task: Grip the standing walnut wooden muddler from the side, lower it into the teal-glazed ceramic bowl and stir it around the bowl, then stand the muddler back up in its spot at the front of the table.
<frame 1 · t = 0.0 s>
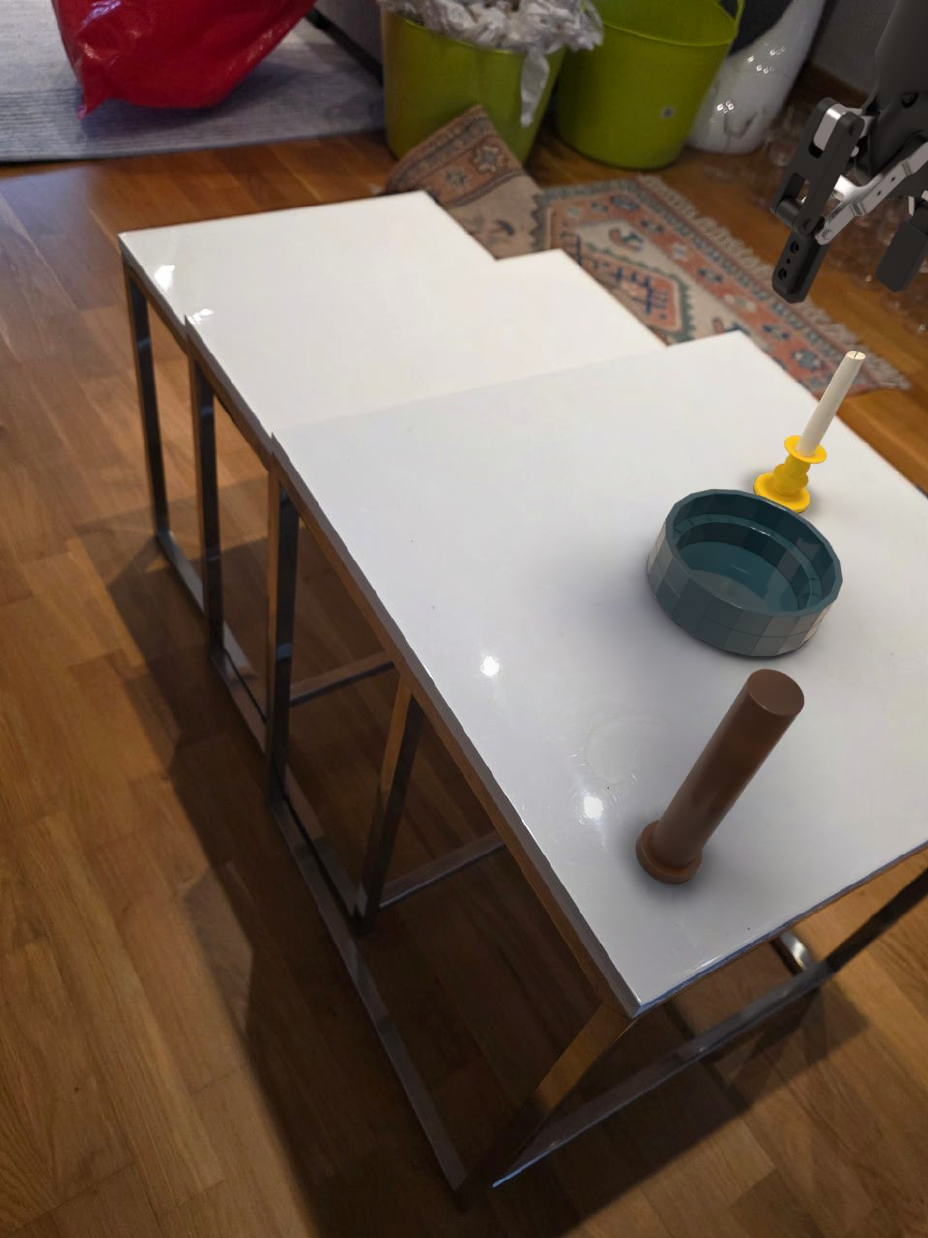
hand: (838, 290, 57), 27 cm above the table, tool pointing down, fingers open, 8 cm apart
bowl: (729, 592, 78), on the table
muddler: (666, 855, 61), on the table
candle: (779, 496, 89), on the table
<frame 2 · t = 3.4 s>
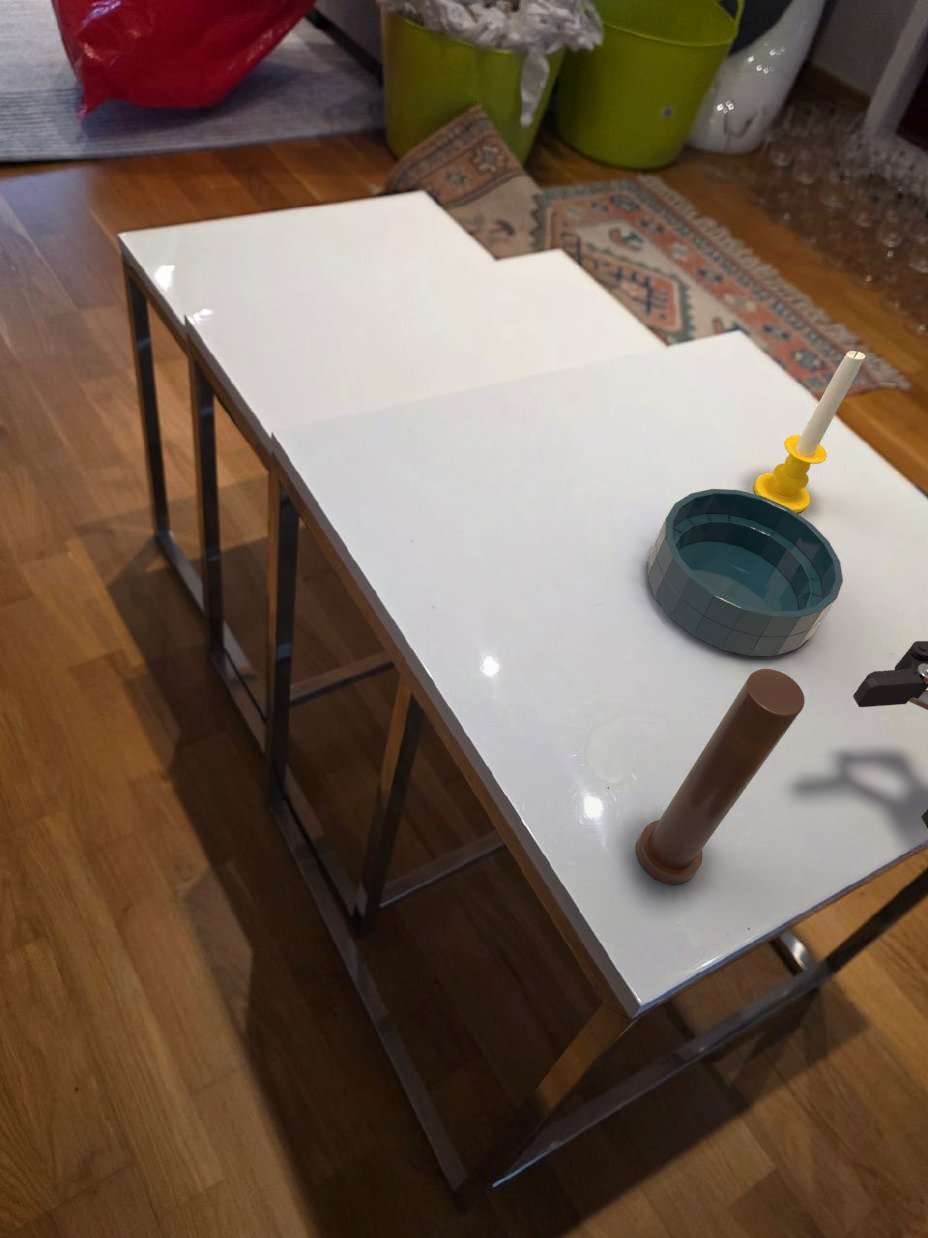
hand: (894, 751, 56), 10 cm above the table, tool horizontal, fingers open, 8 cm apart
nothing on the table moved.
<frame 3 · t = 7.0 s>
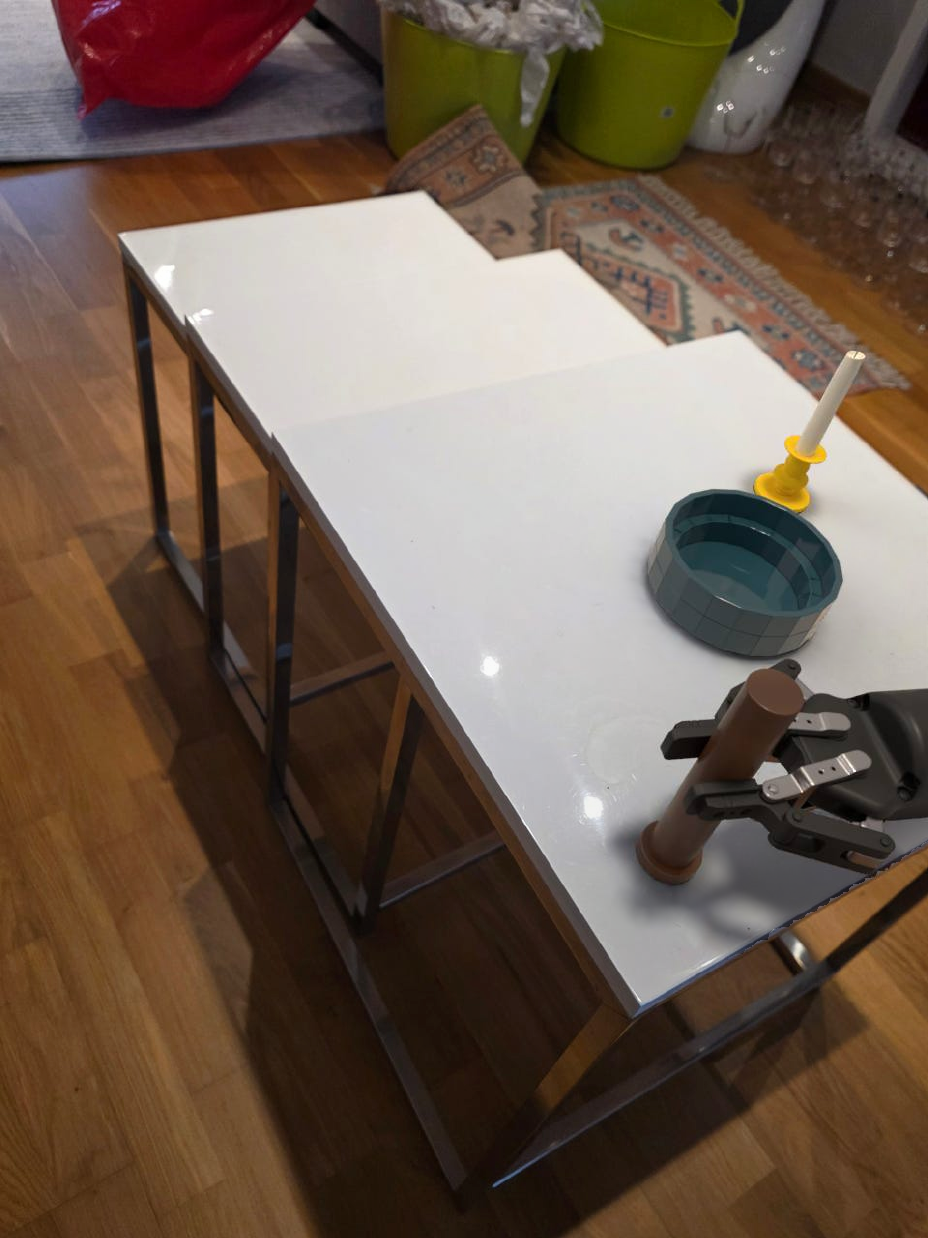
hand: (678, 772, 53), 10 cm above the table, tool horizontal, fingers closed on muddler, 3 cm apart
muddler: (666, 855, 61), on the table, touching gripper
everything else where it was.
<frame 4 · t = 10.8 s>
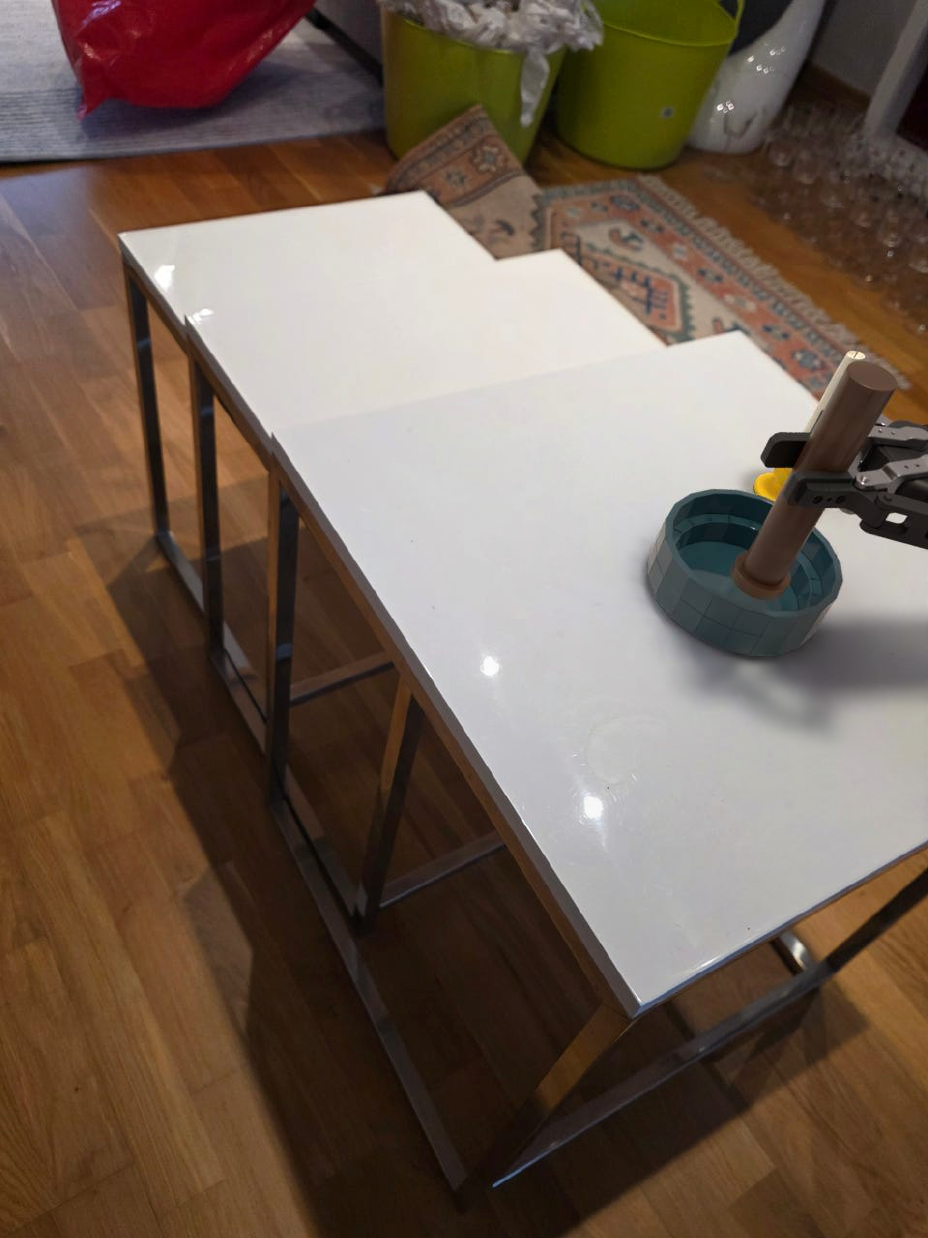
hand: (779, 469, 59), 18 cm above the table, tool horizontal, fingers closed on muddler, 3 cm apart
muddler: (757, 579, 68), point 8 cm above the table, touching gripper
everything else where it was.
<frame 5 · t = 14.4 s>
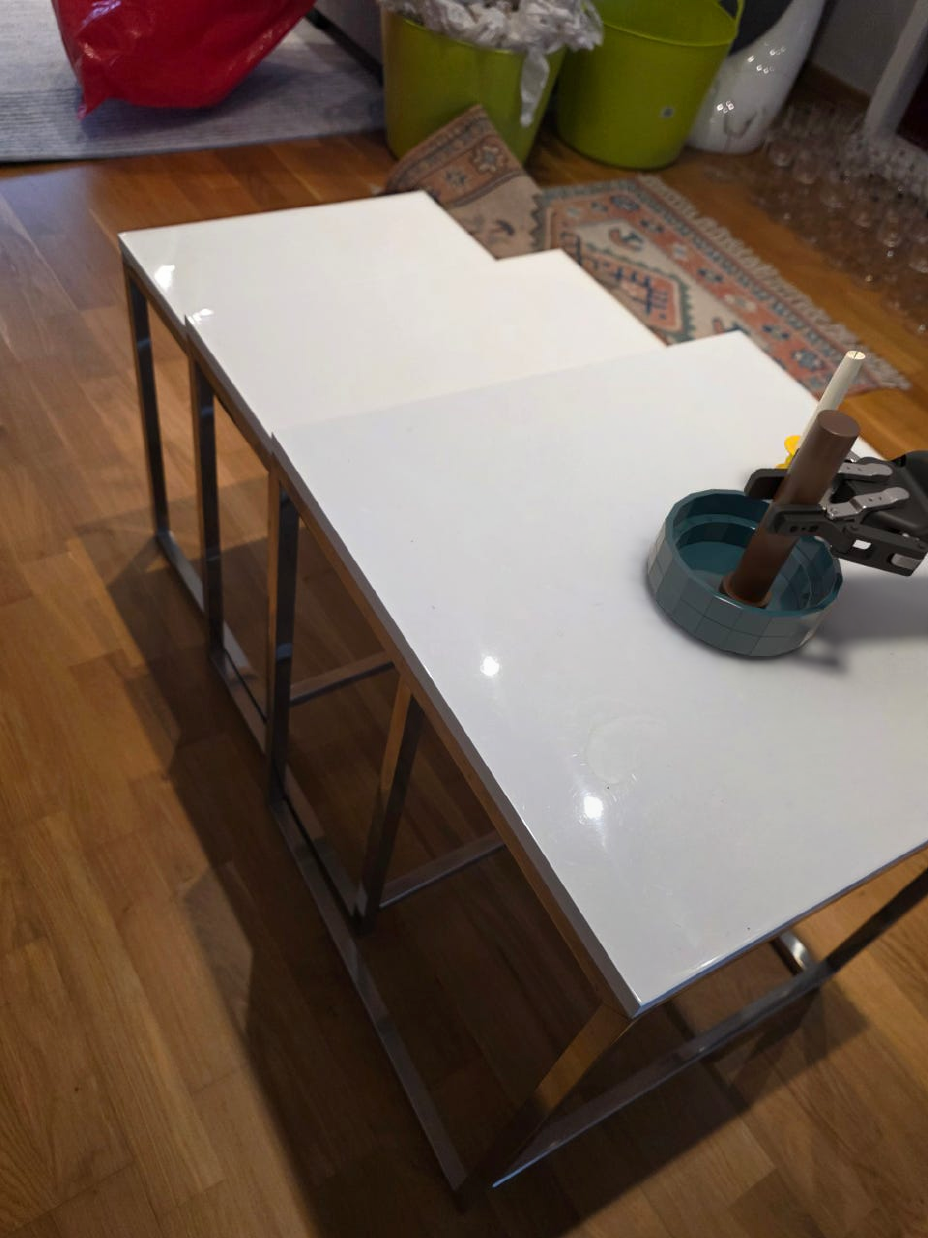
hand: (760, 502, 68), 11 cm above the table, tool horizontal, fingers closed on muddler, 3 cm apart
muddler: (742, 596, 76), point 1 cm above the table, touching gripper
everything else where it was.
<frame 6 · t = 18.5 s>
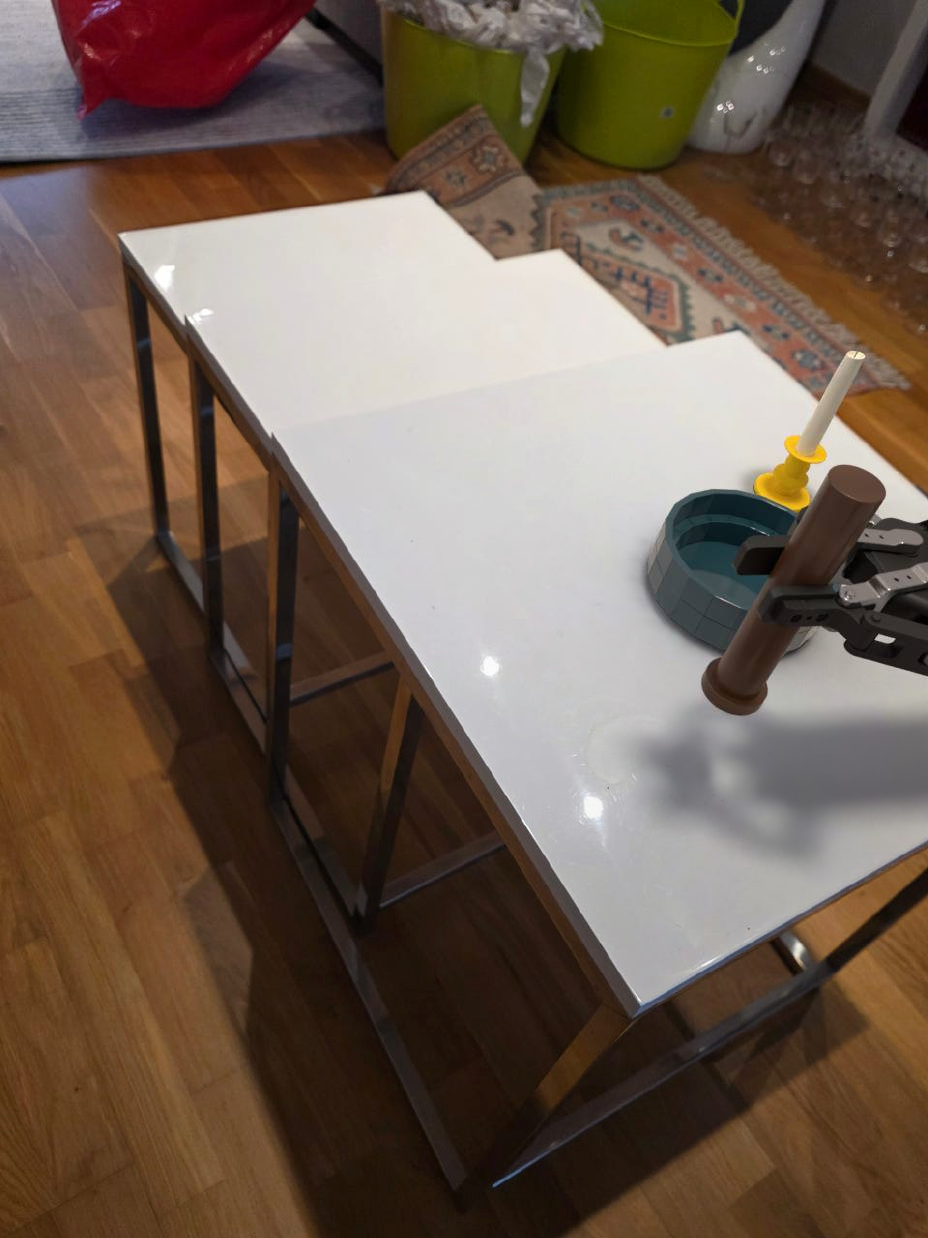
hand: (753, 581, 52), 18 cm above the table, tool horizontal, fingers closed on muddler, 3 cm apart
muddler: (731, 690, 60), point 8 cm above the table, touching gripper
everything else where it was.
when the fingers open (10 cm above the table, at t = 22.0 s): muddler stays where it is, on the table.
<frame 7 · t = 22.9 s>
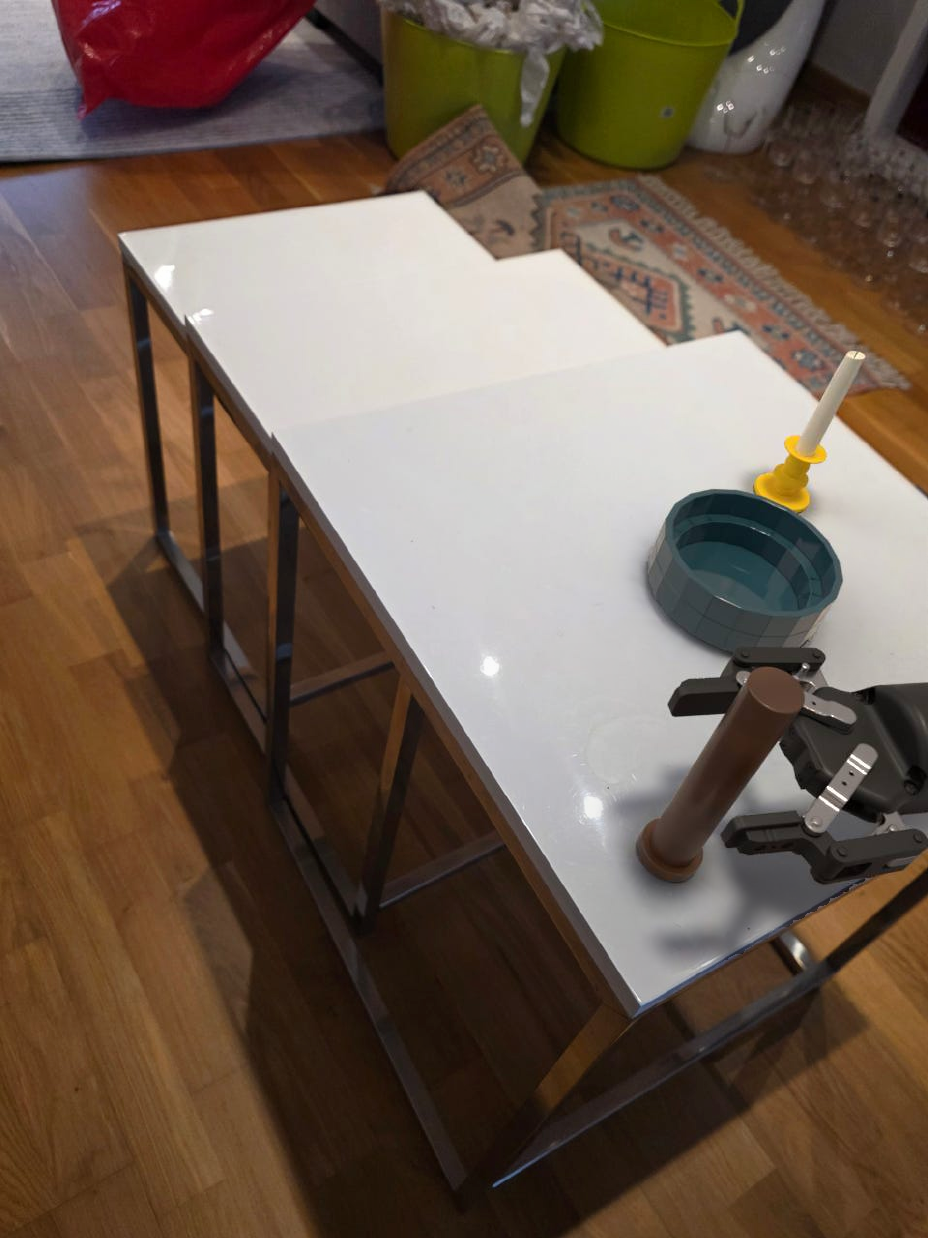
hand: (699, 764, 52), 11 cm above the table, tool horizontal, fingers open, 8 cm apart
muddler: (667, 853, 61), on the table
everything else where it was.
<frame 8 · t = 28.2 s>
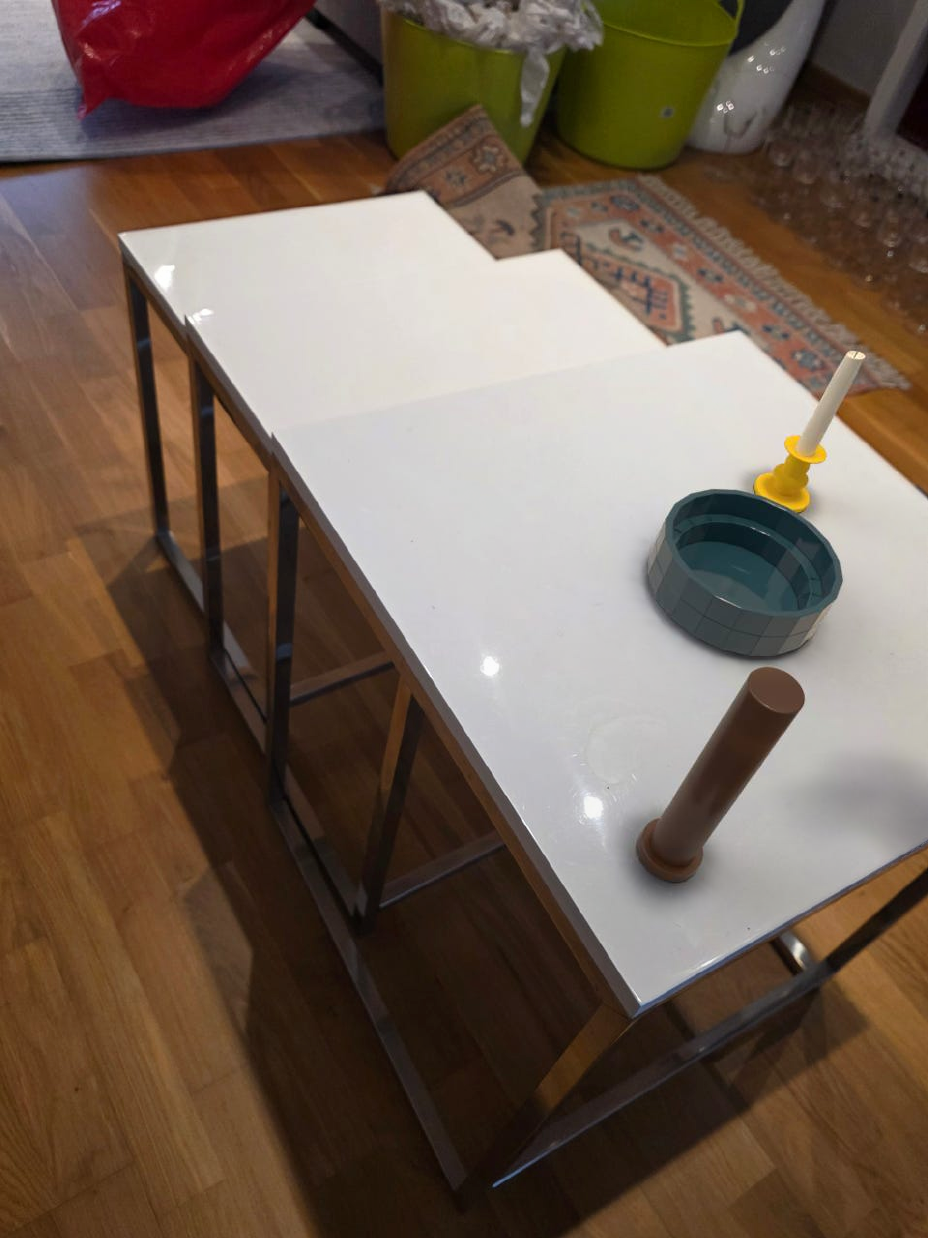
nothing on the table moved.
at the end: muddler 0.1 cm from the target spot on the table beside the bowl, on the table; muddler tilted 0°; the gripper is holding nothing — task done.
